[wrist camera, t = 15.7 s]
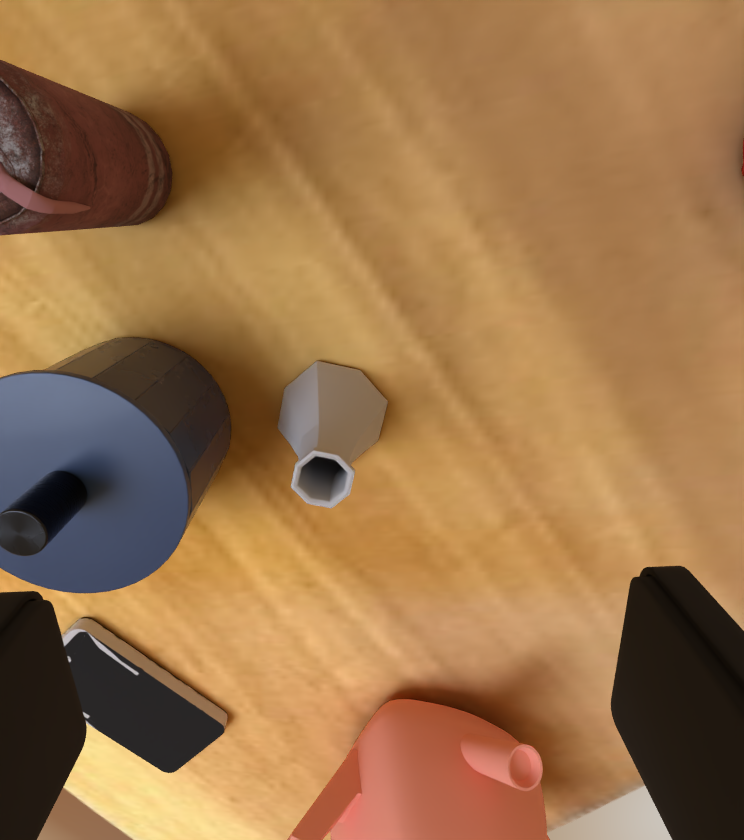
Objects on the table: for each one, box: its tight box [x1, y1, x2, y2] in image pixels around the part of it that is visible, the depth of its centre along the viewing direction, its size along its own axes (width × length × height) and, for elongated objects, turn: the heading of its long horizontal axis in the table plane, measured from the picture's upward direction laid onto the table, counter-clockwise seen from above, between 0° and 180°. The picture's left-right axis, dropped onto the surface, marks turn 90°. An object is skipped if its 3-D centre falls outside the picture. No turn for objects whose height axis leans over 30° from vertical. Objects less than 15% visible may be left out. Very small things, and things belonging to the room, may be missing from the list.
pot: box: [45, 338, 231, 533], centre depth 34 cm, size 12×12×10 cm
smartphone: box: [62, 618, 228, 773], centre depth 46 cm, size 8×1×15 cm
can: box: [0, 60, 172, 235], centre depth 26 cm, size 6×6×14 cm
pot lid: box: [0, 370, 191, 593], centre depth 27 cm, size 13×13×5 cm
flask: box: [278, 361, 388, 508], centre depth 33 cm, size 7×7×10 cm
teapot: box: [288, 699, 550, 840], centre depth 43 cm, size 18×18×14 cm
